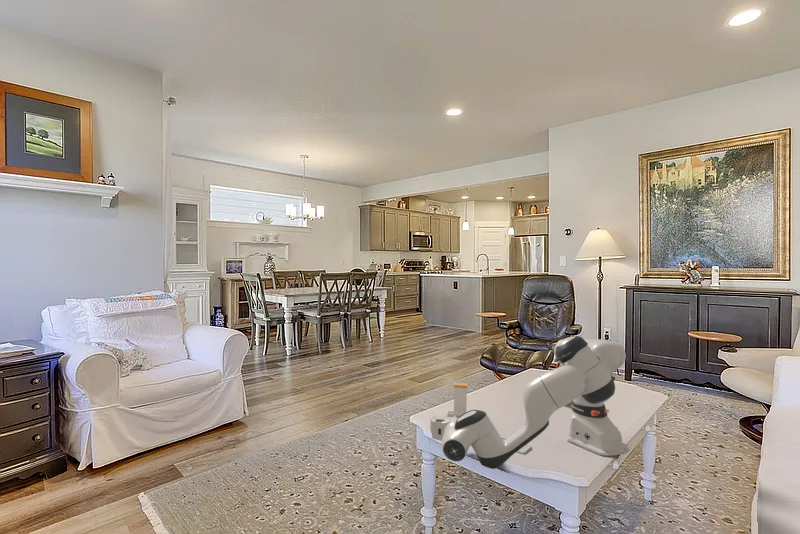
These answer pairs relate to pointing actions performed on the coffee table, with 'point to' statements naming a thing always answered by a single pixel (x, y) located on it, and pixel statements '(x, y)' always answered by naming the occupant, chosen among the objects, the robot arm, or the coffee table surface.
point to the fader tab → (460, 398)
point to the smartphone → (523, 449)
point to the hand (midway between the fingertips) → (458, 417)
